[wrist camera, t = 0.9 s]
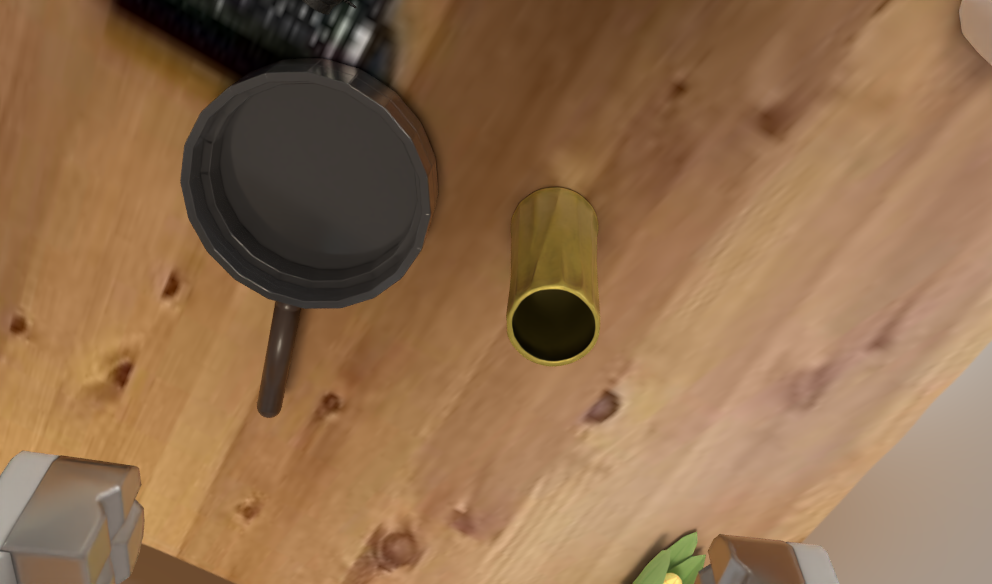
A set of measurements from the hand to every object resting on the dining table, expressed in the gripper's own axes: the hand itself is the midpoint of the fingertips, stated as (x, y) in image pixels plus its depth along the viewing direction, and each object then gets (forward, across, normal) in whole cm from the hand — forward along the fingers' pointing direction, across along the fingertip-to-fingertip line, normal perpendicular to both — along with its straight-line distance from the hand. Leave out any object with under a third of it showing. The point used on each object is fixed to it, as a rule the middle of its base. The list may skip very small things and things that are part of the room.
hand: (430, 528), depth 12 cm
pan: (+46, +8, +18) cm, 50 cm away
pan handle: (+42, +10, +31) cm, 53 cm away
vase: (+44, -8, +19) cm, 49 cm away
